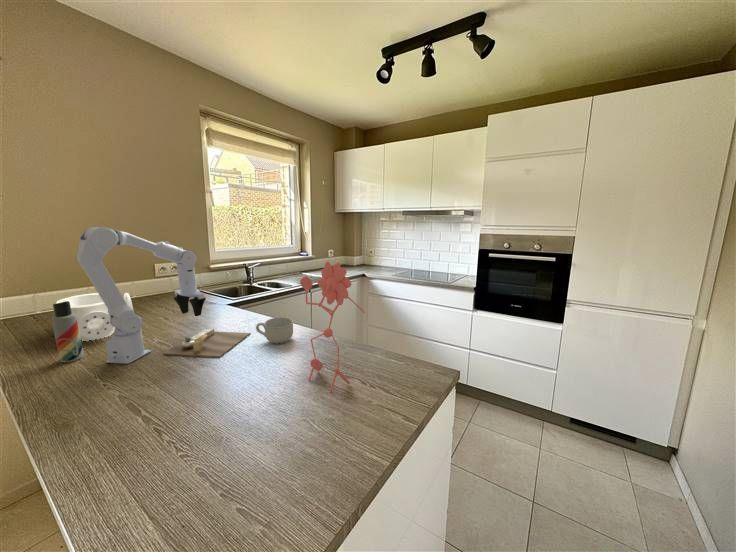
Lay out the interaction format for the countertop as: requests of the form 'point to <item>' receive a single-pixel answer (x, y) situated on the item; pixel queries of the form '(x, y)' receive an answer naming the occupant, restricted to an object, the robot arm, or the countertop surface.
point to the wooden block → (190, 340)
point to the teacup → (277, 329)
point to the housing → (92, 315)
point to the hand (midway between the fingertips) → (191, 314)
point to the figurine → (332, 289)
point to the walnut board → (211, 345)
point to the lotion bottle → (67, 333)
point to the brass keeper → (199, 344)
